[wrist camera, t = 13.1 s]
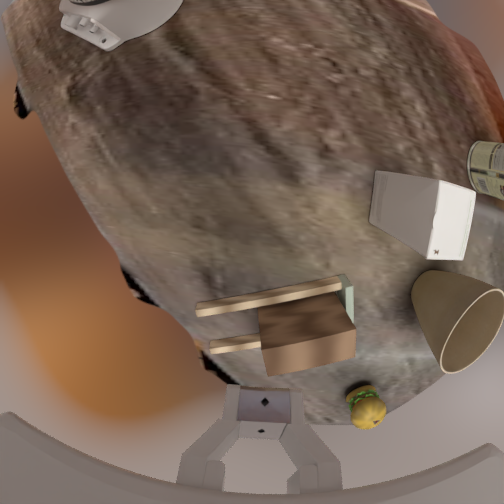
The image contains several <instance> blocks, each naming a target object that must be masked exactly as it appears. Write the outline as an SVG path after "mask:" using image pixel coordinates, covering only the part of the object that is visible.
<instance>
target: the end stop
mask: <svg viewBox="0 0 504 504" xmlns="http://www.w3.org/2000/svg"><path fill="white" fill-rule="evenodd" d="M337 277H338V278H339V279H340V281H341V282H342V289H341V290H338V299H339V300H340V302H341V304H342V305H343V307H344V309H345V310H346V312H347V314H348V316H349V317H350V319H351V321H352V322H353V319H354V306H353V285H352V284H351V283H350V281H349V280H348V279H347V277H346V276H345V275H344V274H343V275H339V276H337Z"/></svg>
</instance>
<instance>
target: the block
mask: <svg viewBox="0 0 504 504" xmlns="http://www.w3.org/2000/svg"><path fill="white" fill-rule="evenodd" d="M258 318H259V329H260V340H261V350H262V354H263V359H264V363H265V367H266V371H267V375H268V376H274V375H279V374H285V373H290V372H295V371H300V370H305V369H309V368H314V367H318V366H322V365H326V364H330V363H334V362H338V361H342V360H346V359H349V358H353V357H355V350H356V328H355V326H354V324H353V322H352V321H351V319H350V317H349V316H348V314H347V312H346V310H345V309H344V307H343V305H342V304H341V302H340V300H339V299H338V297H337V295H336V294H335V292H334V291H332V292H328V293H323V294H319V295H314V296H310V297H305V298H300V299H296V300H291V301H286V302H281V303H276V304H271V305H266V306H260V307H258Z"/></svg>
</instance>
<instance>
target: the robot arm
mask: <svg viewBox="0 0 504 504" xmlns="http://www.w3.org/2000/svg"><path fill="white" fill-rule="evenodd" d="M182 2H183V0H61V2H60V5H59V10H60V11H61V12H62V13H63V14H64V15H63V18H62V21H61V27H62V28H63V29H64V30H66V31H68V32H70V33H72V34H74V35H76V36H78V37H80V38H82V39H84V40H86V41H88V42H90V43H92V44H94V45H95V46H97V47H99V48H101V49H103V50H105V51H111V50H113V49H115V48H116V47H118V46H119V45H121V44H122V43H123V42H125V41H127V40H129V39H132V38H136V37H139V36H142V35H144V34H146V33H149V32H151V31H153V30H154V29H156V28H158V27H159V26H161V25H162V24H164V23H165V22H166V21H167V20H168V19H170V18H171V17H172V16H173V15H174V14H175V12H176V11H177V10H178V9H179V7H180V5H181V4H182ZM105 40H106V42H105V43H104V41H105ZM239 394H240V395H239ZM238 438H256V439H271V440H279V442H280V443H281V445H282V446H283V448H284V449H285V451H286V453H287V454H288V456H289V457H290V459H291V460H292V462H293V463H294V464H295V466H296V468H297V469H298V470H297V471H296V472H295V473H294V474H293V475H292V476H291V477H290V478H289V479H288V480H287V494H248V493H235V492H225V491H224V483H225V464H224V463H223V462H222V461H220V460H221V459H222V457H223V456H224V455H225V454H226V453H227V452H228V451H229V449H230V448H231V447H232V446H233V445H234V444H235V442H236V441H237V440H238ZM0 504H504V453H503V452H502V451H501V450H500V449H499V448H497V447H496V446H495V445H493V444H491V443H486V444H484V445H482V446H480V447H478V448H476V449H474V450H472V451H470V452H468V453H466V454H464V455H461V456H459V457H457V458H455V459H452V460H450V461H447V462H445V463H443V464H440V465H438V466H435V467H432V468H429V469H426V470H423V471H421V472H417V473H415V474H411V475H408V476H405V477H401V478H397V479H394V480H390V481H386V482H381V483H378V484H372V485H368V486H362V487H357V488H351V489H344V490H343V488H342V477H341V466H340V461H339V460H338V459H337V457H336V456H335V455H334V454H333V453H332V452H331V450H330V449H329V448H328V447H327V446H326V445H325V443H324V442H323V441H322V440H321V439H320V438H319V436H318V435H317V434H316V433H315V431H314V430H313V429H312V428H311V426H310V425H309V424H305V418H304V403H303V392H302V390H301V389H289V388H262V387H250V386H240V385H231V384H228V385H227V390H226V396H225V403H224V411H223V417H222V419H218V420H217V421H216V422H215V423H214V424H213V425H212V426H211V427H210V428H209V429H208V430H207V431H206V432H205V433H204V434H203V435H202V436H201V437H200V438H199V439H198V440H197V441H196V442H194V443H193V444H192V445H191V446H190V447H189V448H188V449H187V450H186V451H185V452H184V453H183V454H182V457H181V462H180V466H179V471H178V476H177V481H176V483H172V482H167V481H163V480H159V479H156V478H152V477H148V476H145V475H141V474H138V473H135V472H132V471H129V470H126V469H123V468H120V467H117V466H114V465H112V464H109V463H107V462H104V461H102V460H99V459H97V458H94V457H92V456H89V455H87V454H85V453H83V452H81V451H79V450H76V449H74V448H72V447H70V446H68V445H66V444H64V443H62V442H60V441H59V440H57V439H55V438H53V437H51V436H49V435H48V434H46V433H44V432H42V431H41V430H39V429H37V428H36V427H34V426H33V425H31V424H29V423H28V422H26V421H25V420H23V419H22V418H20V417H19V416H17V415H16V414H14V413H12V412H5V413H2V414H0Z"/></svg>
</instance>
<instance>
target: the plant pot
mask: <svg viewBox="0 0 504 504" xmlns="http://www.w3.org/2000/svg"><path fill="white" fill-rule="evenodd" d="M411 299H412V303H413V306H414V309H415V312H416V315H417V318H418V321H419V323H420V326H421V328H422V331H423V333H424V335H425V338H426V340H427V342H428V344H429V346H430V348H431V350H432V352H433V354H434V356H435V358H436V360H437V362H438V364H439V366H440V367H441V369H442V371H443V372H445V373H447V374H453V373H457V372H460V371H462V370H464V369H465V368H467V367H469V366H470V365H471V364H473V363H474V362H475V361H476V360H477V359H478V358H479V357H480V356H481V355H482V354H483V353H484V352H485V351H486V350H487V348H488V347H489V346H490V344H491V343H492V341H493V340H494V338H495V337H496V335H497V333H498V331H499V329H500V327H501V324H502V322H503V319H504V292H503V291H502V290H500V289H498V288H496V287H494V286H492V285H490V284H487V283H485V282H483V281H480V280H477V279H474V278H472V277H468V276H465V275H461V274H457V273H452V272H445V271H437V270H429V271H426V272H424V273H423V274H421V275H420V276H419V277H418V279H417V280H416V281H415V283H414V285H413V287H412V291H411Z"/></svg>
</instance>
